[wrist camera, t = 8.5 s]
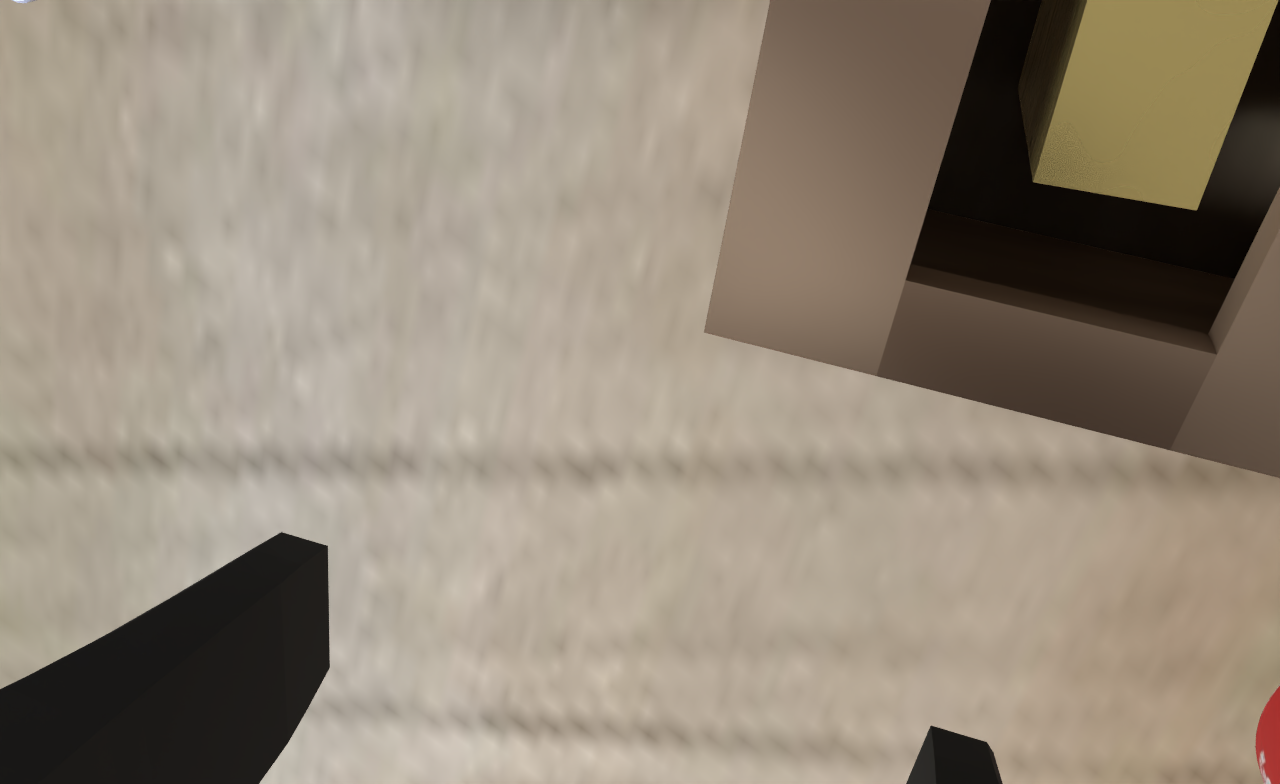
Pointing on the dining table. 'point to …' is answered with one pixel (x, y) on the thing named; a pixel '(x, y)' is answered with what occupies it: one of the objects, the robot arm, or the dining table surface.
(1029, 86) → the yellow rectangular block
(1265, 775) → the beverage can
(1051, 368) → the box
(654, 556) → the dining table surface
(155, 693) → the robot arm
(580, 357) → the dining table surface
